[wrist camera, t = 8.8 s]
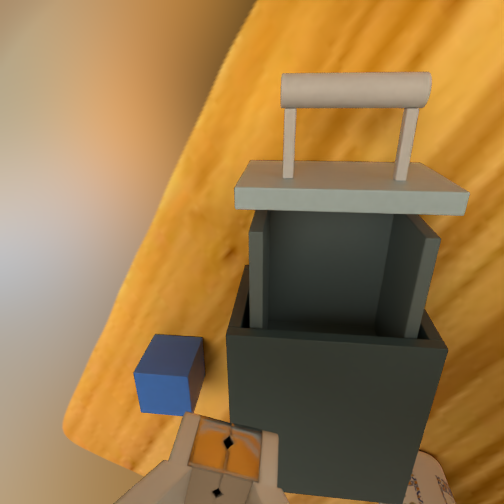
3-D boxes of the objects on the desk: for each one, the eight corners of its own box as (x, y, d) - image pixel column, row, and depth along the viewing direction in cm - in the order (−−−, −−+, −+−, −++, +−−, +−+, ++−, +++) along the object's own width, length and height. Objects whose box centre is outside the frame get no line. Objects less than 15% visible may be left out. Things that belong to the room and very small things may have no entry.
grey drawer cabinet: (245, 264, 29) (225, 334, 21) (403, 271, 28) (449, 349, 20) (247, 393, 35) (232, 487, 27) (376, 404, 34) (402, 505, 26)
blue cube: (154, 333, 33) (132, 372, 29) (202, 337, 33) (187, 377, 28) (160, 370, 35) (141, 412, 31) (205, 374, 35) (192, 417, 30)
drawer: (249, 76, 22) (230, 72, 16) (438, 74, 21) (503, 69, 14) (251, 319, 30) (239, 384, 24) (388, 327, 29) (415, 398, 22)
